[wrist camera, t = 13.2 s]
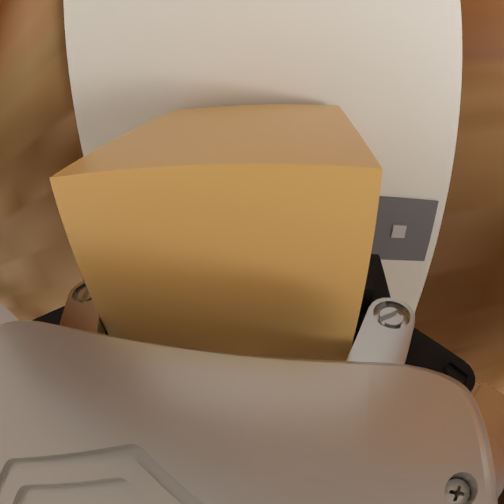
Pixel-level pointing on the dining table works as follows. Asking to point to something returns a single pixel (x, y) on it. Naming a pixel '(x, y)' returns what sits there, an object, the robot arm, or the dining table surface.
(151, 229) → the tan rectangular block
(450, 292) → the dining table surface
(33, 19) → the dining table surface
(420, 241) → the white flat panel
